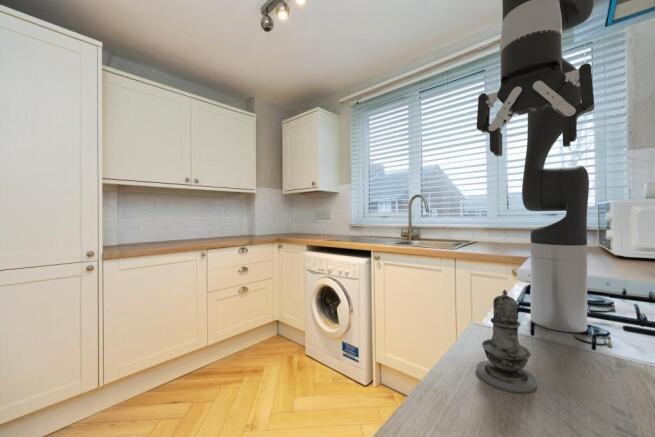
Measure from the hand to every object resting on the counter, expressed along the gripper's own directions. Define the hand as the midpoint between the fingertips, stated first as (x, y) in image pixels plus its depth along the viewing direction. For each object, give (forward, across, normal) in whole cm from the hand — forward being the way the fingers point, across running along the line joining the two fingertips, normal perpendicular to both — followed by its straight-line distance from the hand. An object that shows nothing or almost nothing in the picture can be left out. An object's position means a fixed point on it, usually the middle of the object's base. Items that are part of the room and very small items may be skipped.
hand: (529, 151), depth 43 cm
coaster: (+33, +2, +6) cm, 34 cm away
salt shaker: (+33, +2, +6) cm, 33 cm away
